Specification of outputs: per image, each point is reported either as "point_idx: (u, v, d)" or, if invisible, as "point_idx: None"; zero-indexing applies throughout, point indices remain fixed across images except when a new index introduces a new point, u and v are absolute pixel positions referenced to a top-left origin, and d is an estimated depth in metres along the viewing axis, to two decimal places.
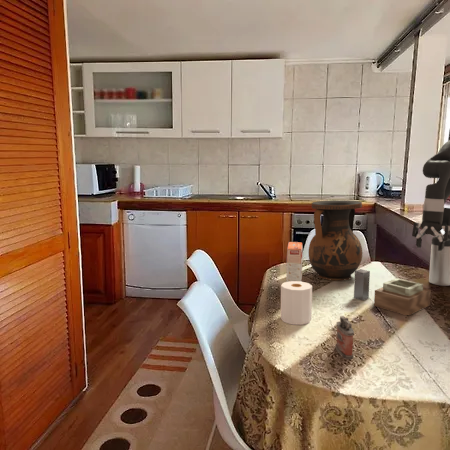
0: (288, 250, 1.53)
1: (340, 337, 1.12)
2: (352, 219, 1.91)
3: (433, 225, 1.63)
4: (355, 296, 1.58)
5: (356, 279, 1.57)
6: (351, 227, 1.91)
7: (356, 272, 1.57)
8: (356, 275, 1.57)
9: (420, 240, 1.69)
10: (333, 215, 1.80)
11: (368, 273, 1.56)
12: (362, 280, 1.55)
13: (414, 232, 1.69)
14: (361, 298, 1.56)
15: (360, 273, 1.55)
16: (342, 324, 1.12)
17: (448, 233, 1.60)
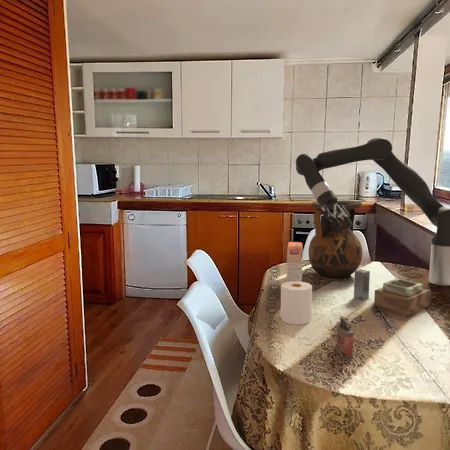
0: (288, 250, 1.53)
1: (340, 337, 1.12)
2: (352, 219, 1.91)
3: None
4: (355, 296, 1.58)
5: (356, 279, 1.57)
6: (351, 227, 1.91)
7: (356, 272, 1.57)
8: (356, 275, 1.57)
9: (346, 220, 1.64)
10: None
11: (368, 273, 1.56)
12: (362, 280, 1.55)
13: None
14: (361, 298, 1.56)
15: (360, 273, 1.55)
16: (342, 324, 1.12)
17: (325, 213, 1.59)
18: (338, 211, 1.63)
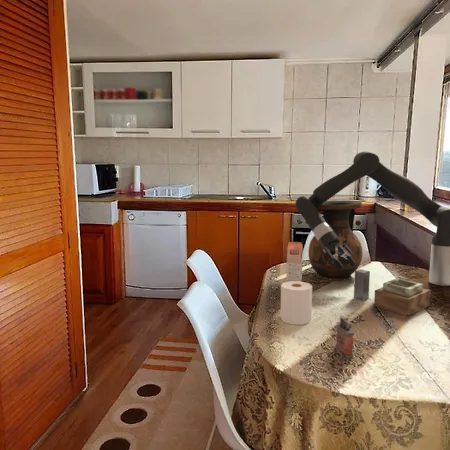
0: (288, 250, 1.53)
1: (340, 337, 1.12)
2: (352, 219, 1.91)
3: None
4: (355, 296, 1.58)
5: (356, 279, 1.57)
6: (351, 227, 1.91)
7: (356, 272, 1.57)
8: (356, 275, 1.57)
9: (349, 259, 1.66)
10: (333, 215, 1.80)
11: (368, 273, 1.56)
12: (362, 280, 1.55)
13: None
14: (361, 298, 1.56)
15: (360, 273, 1.55)
16: (342, 324, 1.12)
17: (326, 255, 1.61)
18: (340, 251, 1.64)
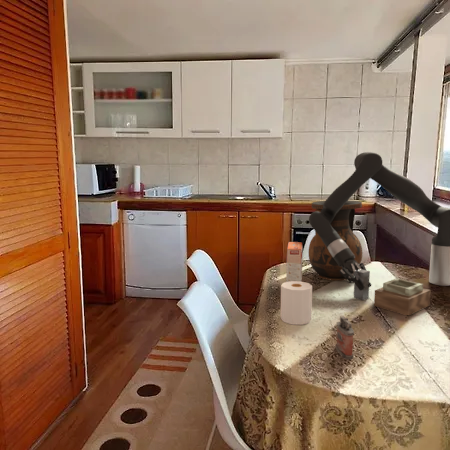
0: (288, 250, 1.53)
1: (340, 337, 1.12)
2: (352, 219, 1.91)
3: None
4: (355, 296, 1.58)
5: None
6: (351, 227, 1.91)
7: (356, 272, 1.57)
8: None
9: None
10: None
11: (368, 273, 1.56)
12: (362, 280, 1.55)
13: None
14: (361, 298, 1.56)
15: (360, 273, 1.55)
16: (342, 324, 1.12)
17: (346, 276, 1.56)
18: (355, 269, 1.59)
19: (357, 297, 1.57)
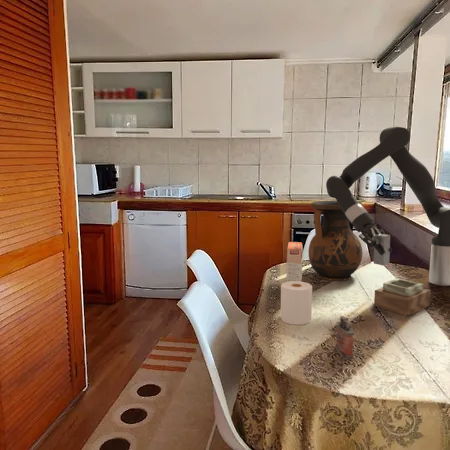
0: (288, 250, 1.53)
1: (340, 337, 1.12)
2: None
3: None
4: (375, 261, 1.52)
5: None
6: (351, 227, 1.91)
7: (376, 236, 1.50)
8: (376, 239, 1.51)
9: None
10: (333, 215, 1.80)
11: (388, 237, 1.50)
12: (382, 244, 1.49)
13: None
14: (381, 263, 1.50)
15: (380, 237, 1.49)
16: (342, 324, 1.12)
17: (365, 240, 1.50)
18: None
19: (377, 262, 1.51)
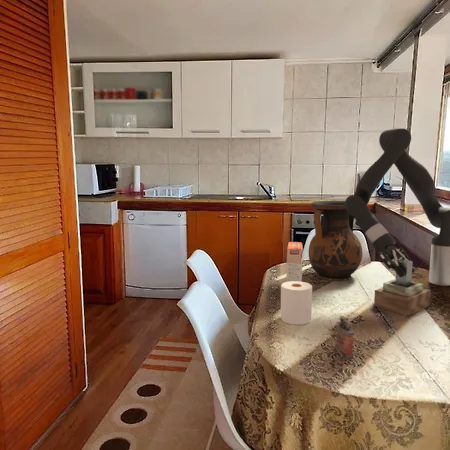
0: (288, 250, 1.53)
1: (340, 337, 1.12)
2: (352, 219, 1.91)
3: None
4: None
5: None
6: (351, 227, 1.91)
7: (398, 262, 1.47)
8: None
9: None
10: (333, 215, 1.80)
11: (411, 263, 1.46)
12: (405, 271, 1.45)
13: None
14: None
15: (403, 263, 1.46)
16: (342, 324, 1.12)
17: (385, 261, 1.46)
18: (397, 255, 1.49)
19: None
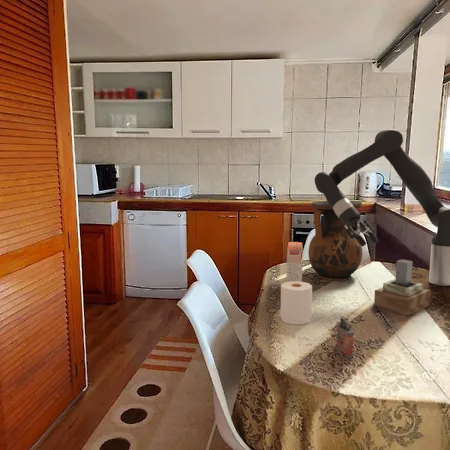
0: (288, 250, 1.53)
1: (340, 337, 1.12)
2: None
3: None
4: None
5: (398, 270, 1.47)
6: None
7: (398, 262, 1.47)
8: (398, 265, 1.47)
9: (371, 236, 1.61)
10: (333, 215, 1.80)
11: (411, 263, 1.46)
12: (405, 271, 1.45)
13: None
14: None
15: (403, 263, 1.46)
16: (342, 324, 1.12)
17: (348, 231, 1.56)
18: (362, 227, 1.60)
19: None
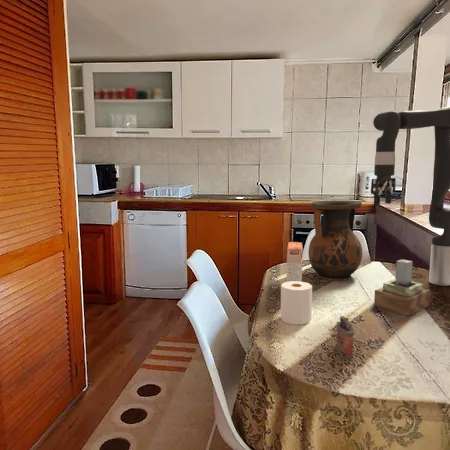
0: (288, 250, 1.53)
1: (340, 337, 1.12)
2: (352, 219, 1.91)
3: None
4: None
5: (398, 270, 1.47)
6: (351, 227, 1.91)
7: (398, 262, 1.47)
8: (398, 265, 1.47)
9: (388, 196, 1.64)
10: (333, 215, 1.80)
11: (411, 263, 1.46)
12: (405, 271, 1.45)
13: None
14: None
15: (403, 263, 1.46)
16: (342, 324, 1.12)
17: (373, 186, 1.57)
18: (386, 187, 1.61)
19: None
